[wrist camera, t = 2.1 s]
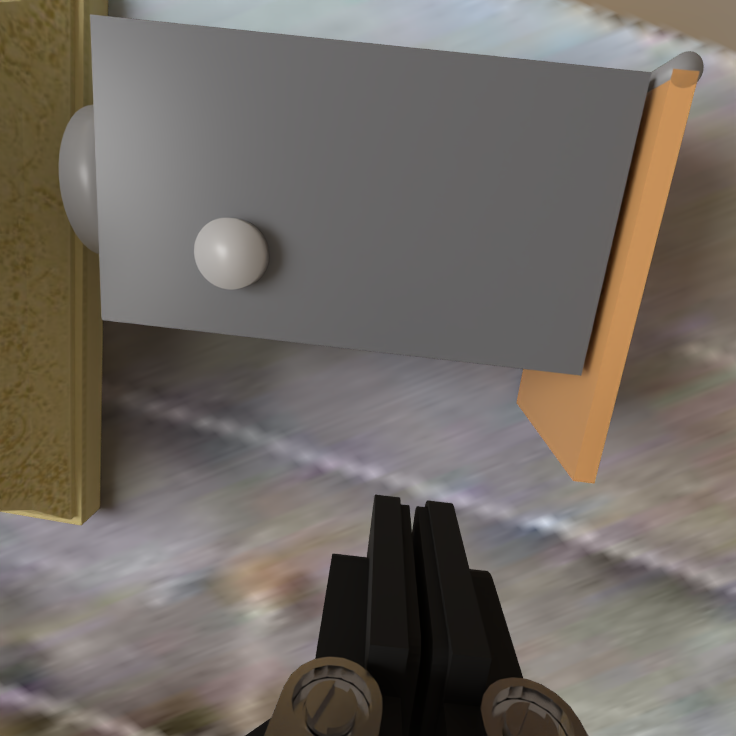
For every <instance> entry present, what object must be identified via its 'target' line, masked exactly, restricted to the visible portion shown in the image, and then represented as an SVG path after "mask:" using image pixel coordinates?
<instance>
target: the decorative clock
mask: <svg viewBox="0 0 736 736" xmlns="http://www.w3.org/2000/svg"><path fill="white" fill-rule="evenodd" d="M90 14H91V15H101V16H108V0H0V512H6V513H12V514H18V515H23V516H29V517H35V518H41V519H47V520H53V521H58V522H64V523H70V524H76V525H82V524H83V523H84V522H86V521H87V520H88V519H89V518H90V517H91V516H92V515H93V514H94V513H95V512H96V511H97V510H98V509H99V508H100V474H101V411H102V348H103V320H102V316H101V290H100V264H99V254H97V253H95V252H93V251H91V250H90V249H88V248H87V247H86V246H85V245H84V244H83V243H82V242H81V240H80V239H79V238H78V236H77V235H76V233H75V232H74V230H73V228H72V226H71V224H70V222H69V220H68V217H67V214H66V211H65V208H64V204H63V201H62V196H61V190H60V183H59V153H60V147H61V142H62V138H63V134H64V132H65V129H66V126H67V124H68V123H69V121H70V119H71V118H72V116H73V115H74V114H75V113H76V112H77V111H78V110H79V109H81V108H83V107H85V106H88V105H93V79H92V53H91V26H90Z"/></svg>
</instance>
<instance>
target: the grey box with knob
mask: <svg viewBox="0 0 736 736" xmlns="http://www.w3.org/2000/svg"><path fill="white" fill-rule="evenodd" d="M90 26H91V53H92V79H93V105H88V106H85V107H83V108H81V109H79V110H78V111H77V112H76V113H75V114H74V115H73V116H72V118H71V119H70V121H69V123H68V124H67V126H66V129H65V132H64V134H63V138H62V142H61V147H60V153H59V183H60V190H61V196H62V201H63V204H64V208H65V211H66V214H67V217H68V220H69V222H70V224H71V226H72V228H73V230H74V232H75V233H76V235H77V236H78V238H79V239H80V240H81V242H82V243H83V244H84V245H85V246H86V247H87V248H88V249H90V250H91V251H93V252H95V253H97V254H99V264H100V290H101V316H102V320H107V321H115V322H124V323H132V324H141V325H150V326H158V327H167V328H175V329H184V330H193V331H201V332H210V333H218V334H227V335H236V336H244V337H253V338H261V339H270V340H279V341H287V342H296V343H304V344H313V345H322V346H330V347H339V348H348V349H356V350H365V351H373V352H382V353H391V354H399V355H408V356H416V357H425V358H434V359H442V360H451V361H459V362H468V363H477V364H485V365H494V366H502V367H511V368H520V369H528V370H537V371H546V372H554V373H563V374H571V375H580V376H581V375H582V370H583V366H584V362H585V357H586V353H587V349H588V344H589V340H590V336H591V332H592V327H593V323H594V319H595V314H596V310H597V306H598V301H599V297H600V293H601V288H602V284H603V280H604V276H605V271H606V267H607V263H608V258H609V254H610V250H611V245H612V241H613V237H614V233H615V228H616V224H617V220H618V215H619V211H620V207H621V202H622V198H623V194H624V190H625V185H626V181H627V177H628V172H629V168H630V164H631V159H632V155H633V151H634V146H635V142H636V138H637V134H638V129H639V125H640V121H641V116H642V112H643V108H644V103H645V99H646V95H647V91H648V86H649V82H650V78H651V73H652V72H642V71H633V70H623V69H613V68H604V67H594V66H584V65H575V64H565V63H555V62H546V61H536V60H526V59H517V58H507V57H497V56H488V55H478V54H468V53H459V52H449V51H439V50H430V49H420V48H410V47H401V46H391V45H381V44H372V43H362V42H352V41H343V40H333V39H323V38H314V37H304V36H294V35H285V34H275V33H265V32H256V31H246V30H236V29H227V28H217V27H207V26H198V25H188V24H178V23H169V22H159V21H149V20H140V19H130V18H120V17H111V16H101V15H91V14H90Z"/></svg>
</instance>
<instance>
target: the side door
mask: <svg viewBox="0 0 736 736" xmlns="http://www.w3.org/2000/svg"><path fill="white" fill-rule="evenodd" d="M703 68H704V66H703V61H702V58H701V57H700V56H699V55H698V54H697V53H695V52H691V51H688V52H684V53H681V54H680V55H678V56H676V57H675V58H673V59H672V60H670V61H668V62H667V63H665V64H664V65H662V66H660V67H659V68H657V69H656V70H654V71H652V73H651V78H650V82H649V86H648V91H647V95H646V99H645V103H644V108H643V112H642V116H641V121H640V125H639V129H638V134H637V138H636V142H635V146H634V151H633V155H632V159H631V164H630V168H629V172H628V177H627V181H626V185H625V190H624V194H623V198H622V202H621V207H620V211H619V215H618V220H617V224H616V228H615V233H614V237H613V241H612V245H611V250H610V254H609V258H608V263H607V267H606V271H605V276H604V280H603V284H602V288H601V293H600V297H599V301H598V306H597V310H596V314H595V319H594V323H593V327H592V332H591V336H590V340H589V344H588V349H587V353H586V357H585V362H584V366H583V370H582V375H581V376H580V375H571V374H563V373H554V372H546V371H537V370H528V369H523V373H522V378H521V383H520V388H519V393H518V398H517V404H518V405H519V407H520V408H521V410H522V411H523V412H524V414H525V415H526V416H527V418H528V419H529V421H530V422H531V423H532V425H533V426H534V427H535V429H536V430H537V432H538V433H539V434H540V436H541V437H542V438H543V440H544V441H545V443H546V444H547V445H548V447H549V448H550V449H551V451H552V452H553V454H554V455H555V456H556V458H557V459H558V460H559V462H560V463H561V465H562V466H563V467H564V469H565V470H566V472H567V473H568V474H569V476H570V477H571V478H572V480H573V481H579V482H587V483H595V479H596V475H597V471H598V467H599V463H600V459H601V455H602V452H603V448H604V444H605V440H606V436H607V432H608V428H609V424H610V420H611V416H612V412H613V408H614V405H615V401H616V397H617V393H618V389H619V385H620V381H621V377H622V373H623V369H624V365H625V361H626V358H627V354H628V350H629V346H630V342H631V338H632V334H633V330H634V326H635V322H636V318H637V315H638V311H639V307H640V303H641V299H642V295H643V291H644V287H645V283H646V279H647V275H648V271H649V268H650V264H651V260H652V256H653V252H654V248H655V244H656V240H657V236H658V232H659V228H660V224H661V221H662V217H663V213H664V209H665V205H666V201H667V197H668V193H669V189H670V185H671V181H672V177H673V174H674V170H675V166H676V162H677V158H678V154H679V150H680V146H681V142H682V138H683V134H684V130H685V127H686V123H687V119H688V115H689V111H690V107H691V103H692V99H693V95H694V91H695V87H696V83H697V82H698V80H699V79H700V77H701V76H702V73H703Z"/></svg>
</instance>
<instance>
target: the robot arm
mask: <svg viewBox="0 0 736 736" xmlns="http://www.w3.org/2000/svg"><path fill="white" fill-rule="evenodd" d="M246 736H588V734H587V733H586V731H585V729H584V727H583V725H582V723H581V722H580V720H579V718H578V717H577V716H576V714H575V713H574V711H573V710H572V708H571V707H570V706H569V705H568V704H567V703H566V702H565V701H564V700H563V699H562V698H561V697H560V696H559V695H557V694H556V693H555V692H553V691H551V690H550V689H548V688H547V687H545V686H543V685H542V684H539V683H536V682H534V681H531V680H528V679H523V676H522V673H521V669H520V666H519V663H518V660H517V656H516V653H515V650H514V647H513V643H512V640H511V637H510V634H509V631H508V627H507V624H506V621H505V618H504V614H503V611H502V608H501V605H500V601H499V598H498V595H497V592H496V588H495V585H494V582H493V579H492V576H491V574H490V573H489V572H488V571H482V570H473V569H469V565H468V561H467V557H466V553H465V549H464V545H463V541H462V537H461V533H460V529H459V525H458V521H457V517H456V513H455V509H454V506H453V504H452V503H444V502H435V501H427V502H426V504H425V507H419V506H417V507H416V510H415V516H414V523H413V530H412V529H411V518H410V507H409V505H401V504H400V497H391V496H382V495H375V497H374V504H373V512H372V520H371V528H370V536H369V544H368V552H367V557H358V556H349V555H341V554H332V559H331V565H330V571H329V577H328V584H327V590H326V596H325V602H324V608H323V614H322V621H321V627H320V633H319V639H318V645H317V651H316V658H315V659H313V660H311V661H309V662H307V663H305V664H303V665H301V666H300V667H299V668H298V669H297V670H295V671H294V672H293V673H292V674H291V675H290V677H289V678H288V680H287V682H286V683H285V685H284V687H283V689H282V692H281V694H280V697H279V699H278V702H277V704H276V707H275V709H274V712H273V714H272V717H271V718H270V719H269V720H267V721H266V722H264V723H263V724H262V725H260V726H259V727H257V728H256V729H254V730H253V731H251V732H250V733H248V734H247V735H246Z"/></svg>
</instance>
